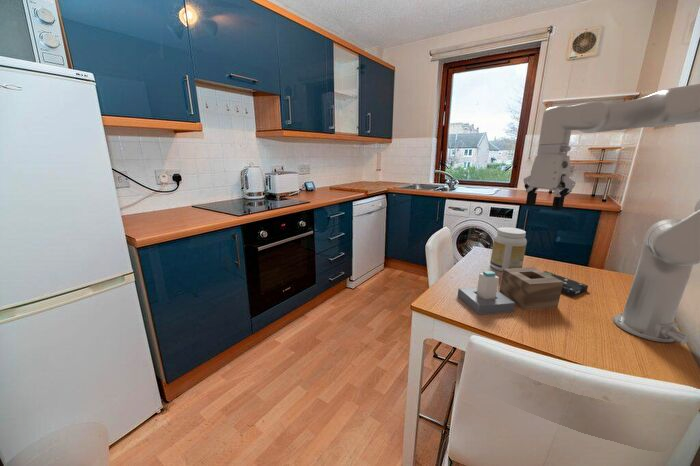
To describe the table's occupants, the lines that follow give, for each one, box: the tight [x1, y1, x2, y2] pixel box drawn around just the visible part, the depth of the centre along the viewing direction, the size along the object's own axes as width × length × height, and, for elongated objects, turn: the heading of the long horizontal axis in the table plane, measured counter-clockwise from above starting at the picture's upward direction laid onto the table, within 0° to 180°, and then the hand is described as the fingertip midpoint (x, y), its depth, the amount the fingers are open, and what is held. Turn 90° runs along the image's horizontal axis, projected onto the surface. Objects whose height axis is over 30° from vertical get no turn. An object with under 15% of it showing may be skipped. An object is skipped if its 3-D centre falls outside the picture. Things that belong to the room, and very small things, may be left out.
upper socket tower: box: [498, 266, 563, 311], centre depth 95 cm, size 12×12×9 cm
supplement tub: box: [489, 226, 528, 272], centre depth 121 cm, size 12×12×17 cm
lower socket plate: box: [457, 286, 516, 316], centre depth 93 cm, size 12×12×3 cm
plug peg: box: [476, 270, 500, 300], centre depth 92 cm, size 4×4×11 cm
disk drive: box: [543, 270, 589, 298], centre depth 107 cm, size 10×3×15 cm
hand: (543, 207), depth 90 cm, fingers open, 9 cm apart
